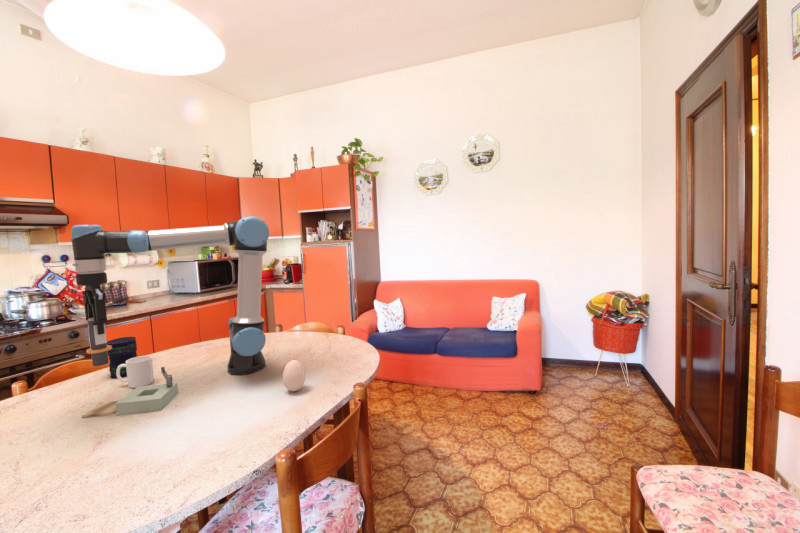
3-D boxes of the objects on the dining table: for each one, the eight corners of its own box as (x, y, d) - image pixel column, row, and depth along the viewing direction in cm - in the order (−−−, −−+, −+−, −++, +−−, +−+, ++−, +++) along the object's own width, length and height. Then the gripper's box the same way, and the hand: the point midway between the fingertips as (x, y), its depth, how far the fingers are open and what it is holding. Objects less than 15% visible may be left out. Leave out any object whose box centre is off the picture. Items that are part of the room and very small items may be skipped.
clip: (173, 385, 123) (172, 375, 123) (167, 387, 122) (166, 376, 122) (166, 376, 133) (165, 366, 132) (160, 377, 132) (159, 367, 131)
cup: (149, 386, 135) (147, 361, 134) (112, 391, 131) (109, 365, 130) (157, 378, 142) (155, 354, 142) (122, 382, 139) (120, 358, 138)
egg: (310, 389, 127) (308, 359, 126) (290, 397, 121) (288, 366, 120) (299, 384, 132) (297, 355, 131) (279, 391, 126) (277, 361, 125)
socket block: (178, 393, 127) (177, 382, 127) (161, 410, 115) (160, 398, 114) (138, 397, 125) (137, 386, 125) (116, 415, 112) (115, 403, 112)
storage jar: (104, 377, 146) (100, 342, 144) (130, 368, 155) (126, 335, 153) (119, 380, 142) (115, 344, 141) (144, 371, 151) (141, 337, 150)
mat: (129, 401, 122) (129, 399, 122) (113, 414, 113) (113, 412, 113) (99, 404, 120) (99, 402, 120) (81, 418, 111) (81, 415, 111)
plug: (117, 359, 119) (113, 315, 117) (105, 366, 112) (100, 319, 111) (96, 361, 118) (91, 316, 116) (82, 368, 111) (77, 320, 110)
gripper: (67, 272, 114) (75, 342, 116) (84, 274, 105) (92, 349, 107) (97, 270, 120) (103, 336, 122) (115, 272, 111) (122, 343, 113)
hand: (98, 342), depth 114 cm, fingers closed on plug, 4 cm apart
